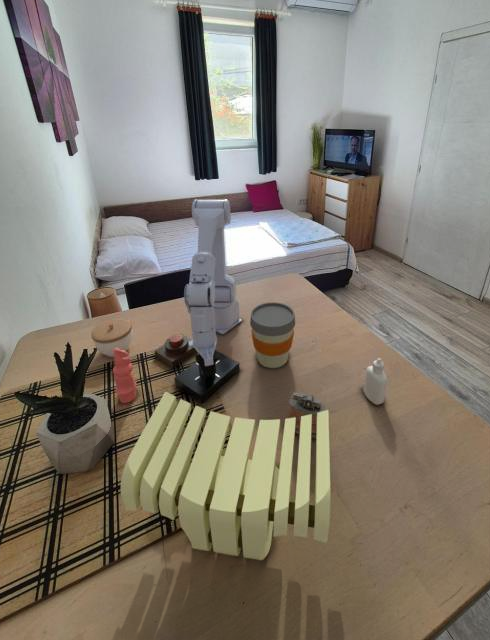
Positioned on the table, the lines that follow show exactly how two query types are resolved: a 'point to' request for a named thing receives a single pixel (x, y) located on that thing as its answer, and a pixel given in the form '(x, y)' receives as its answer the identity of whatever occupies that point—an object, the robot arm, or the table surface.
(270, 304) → the reusable coffee cup
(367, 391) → the eye dropper bottle
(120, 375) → the figurine
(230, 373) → the panel
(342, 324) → the table surface
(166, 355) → the button block
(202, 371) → the dial
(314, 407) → the lighter
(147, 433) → the slatted curved stool
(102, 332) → the trinket box
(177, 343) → the button
